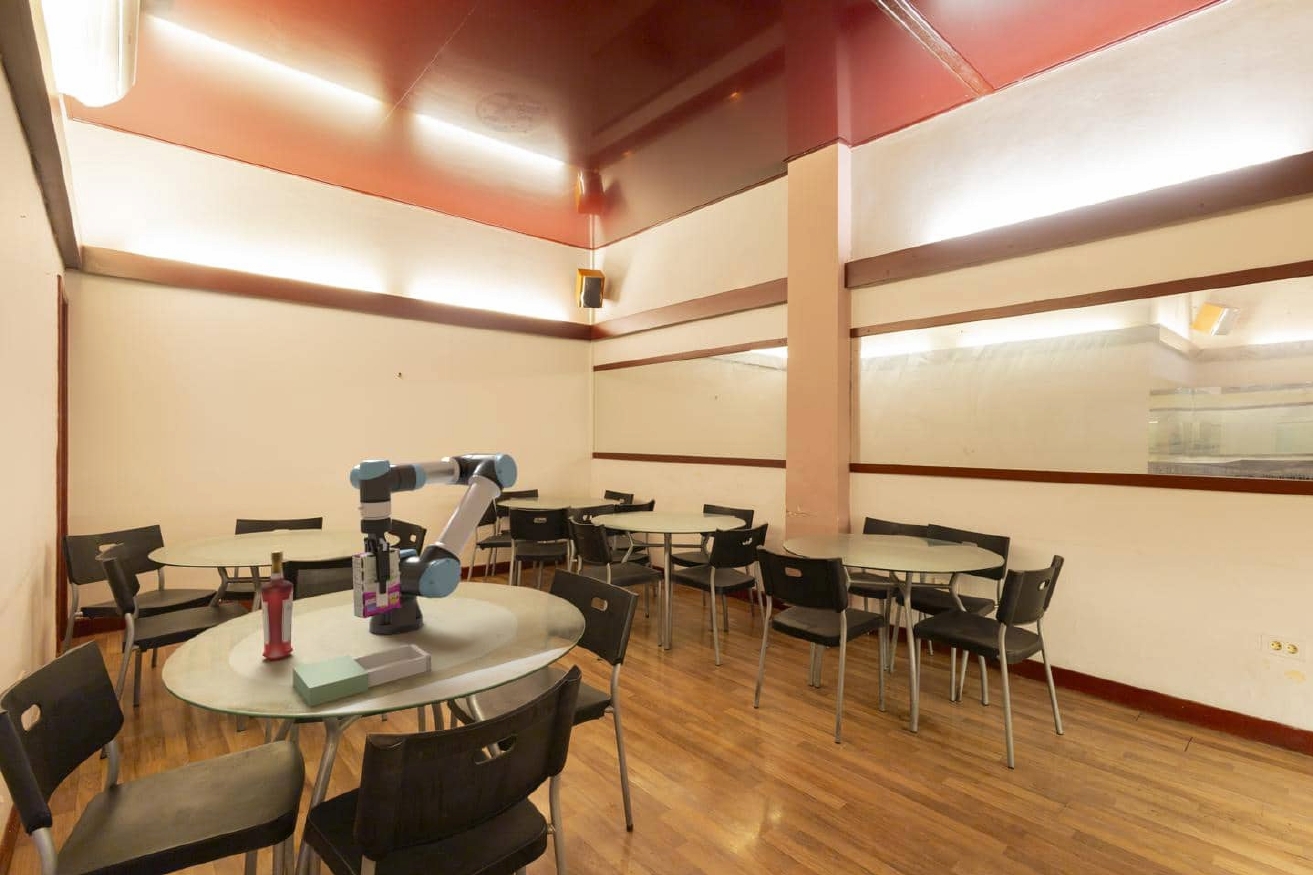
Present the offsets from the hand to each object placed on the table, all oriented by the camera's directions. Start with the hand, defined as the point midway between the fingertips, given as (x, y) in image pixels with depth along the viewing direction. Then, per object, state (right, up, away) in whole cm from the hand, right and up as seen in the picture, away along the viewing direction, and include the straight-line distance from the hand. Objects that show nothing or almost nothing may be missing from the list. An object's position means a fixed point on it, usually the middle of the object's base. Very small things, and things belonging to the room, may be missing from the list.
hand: (377, 602), depth 160 cm
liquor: (-26, -14, -2) cm, 29 cm away
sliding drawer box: (+5, -14, -16) cm, 22 cm away
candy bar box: (0, -3, 0) cm, 3 cm away
